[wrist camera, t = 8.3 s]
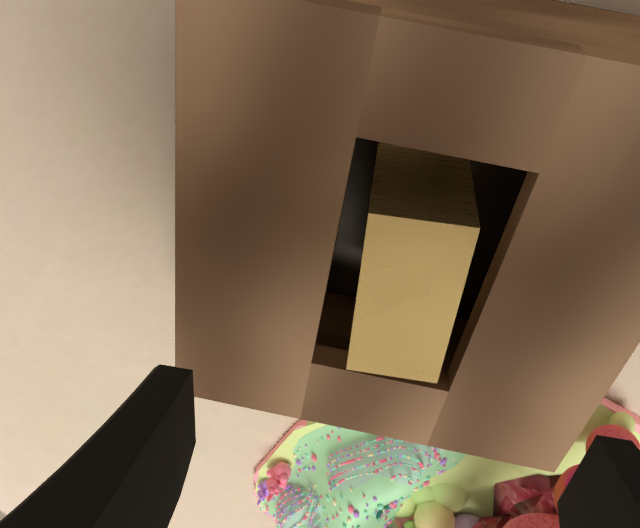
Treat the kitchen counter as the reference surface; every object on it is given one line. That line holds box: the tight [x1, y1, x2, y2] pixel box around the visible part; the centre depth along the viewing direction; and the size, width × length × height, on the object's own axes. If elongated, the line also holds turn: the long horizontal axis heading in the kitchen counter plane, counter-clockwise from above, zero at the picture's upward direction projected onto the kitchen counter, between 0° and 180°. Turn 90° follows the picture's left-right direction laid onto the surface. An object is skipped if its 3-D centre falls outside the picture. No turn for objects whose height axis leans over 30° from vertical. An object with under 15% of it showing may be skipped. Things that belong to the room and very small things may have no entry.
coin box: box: [175, 0, 640, 473], centre depth 17 cm, size 12×12×6 cm
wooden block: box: [346, 142, 480, 383], centre depth 17 cm, size 2×5×6 cm, turn 176°
